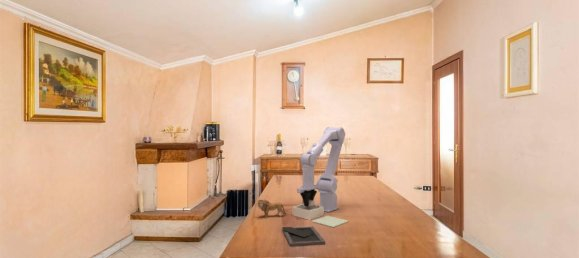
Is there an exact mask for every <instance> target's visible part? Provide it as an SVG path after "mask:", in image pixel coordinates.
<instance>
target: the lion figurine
mask: <svg viewBox="0 0 579 258" xmlns="http://www.w3.org/2000/svg"><path fill="white" fill-rule="evenodd" d="M257 208H258V209H260V210H261V212H263V213H264V214H263V215H262V217H264V218H269V212H272V211H277V213H276V214H275V216H279V214H280V213H281V214H282V215H281V217H283V218H284V217H285V215H287V212H286V211H285V207H284V205H283V204H282V203H281V202H278V201H277V202H270V201H268V200H265V198H260V199H258V200H257Z"/></svg>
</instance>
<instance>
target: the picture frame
mask: <svg viewBox="0 0 579 258" xmlns="http://www.w3.org/2000/svg"><path fill="white" fill-rule="evenodd" d="M281 229H282V233H283V235H284V238H286V241H287V243H288V245H289V247H307V246H308V247H309V246H320V245H323V246H324V245H326V241H325V239H324V238H323V237H322V236H321V234H320V233H319V232H318V231H317V229H315V227H314V226H313V225H312V226H299V227H297V226H296V227H294V226H282V227H281Z"/></svg>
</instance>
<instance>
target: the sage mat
mask: <svg viewBox="0 0 579 258" xmlns="http://www.w3.org/2000/svg"><path fill="white" fill-rule="evenodd" d="M311 222H312V223H314V224H319V225H323V226H325V227H329V228H336V227H338V226H342V225H344V224H346V223H349V220H348V219H347V220H346V219H342V218H338V217H334V216H331V215H326V216H321V217H318V218H315V219H312V220H311Z"/></svg>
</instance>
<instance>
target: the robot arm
mask: <svg viewBox="0 0 579 258" xmlns="http://www.w3.org/2000/svg"><path fill="white" fill-rule="evenodd" d="M345 139H346V131H345V129H344V127H343V126H342V127H341V126H340V127H333V126H332V127H331V126H327V127H326V128H325V129H324V130H323V134H322V136H321V137H320V139H319V140H318V142H317V143H313V144H312V146H311V147H310V148H309V149H308V150H307V152H306V153H305V152H304V153H303V154H302V155H301V156H300V159H299V161H300V165H301V168H302V185H301V186H300V187H299V188H296V192H297V194H300V196H301V198H302V200H303V202H304V206H307V207H308V206H309V200H313V201H315V196H316V194H317V193H319V206H323V207H324V212H326V213H330V212H332V211H336V210H339V207H338V195H337V193H336V191H338V190H337V189H338V179H337V177H336V176H335V174H336V170H337V167H338V162H339V159H340V154H341V151H342V145H343V144H344V140H345ZM328 143H329V145H331V147H330V150H329V155H328V159H327V162H326V166H325V170H324V173H322V174H321V175H319V177H318V180H317V181H316V184H315V165H316V164H317V162H318V160H319V157H320V155H321V154H322V153H323V152H324V147H325V146H326V145H327V144H328ZM317 190H318V191H317Z"/></svg>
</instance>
